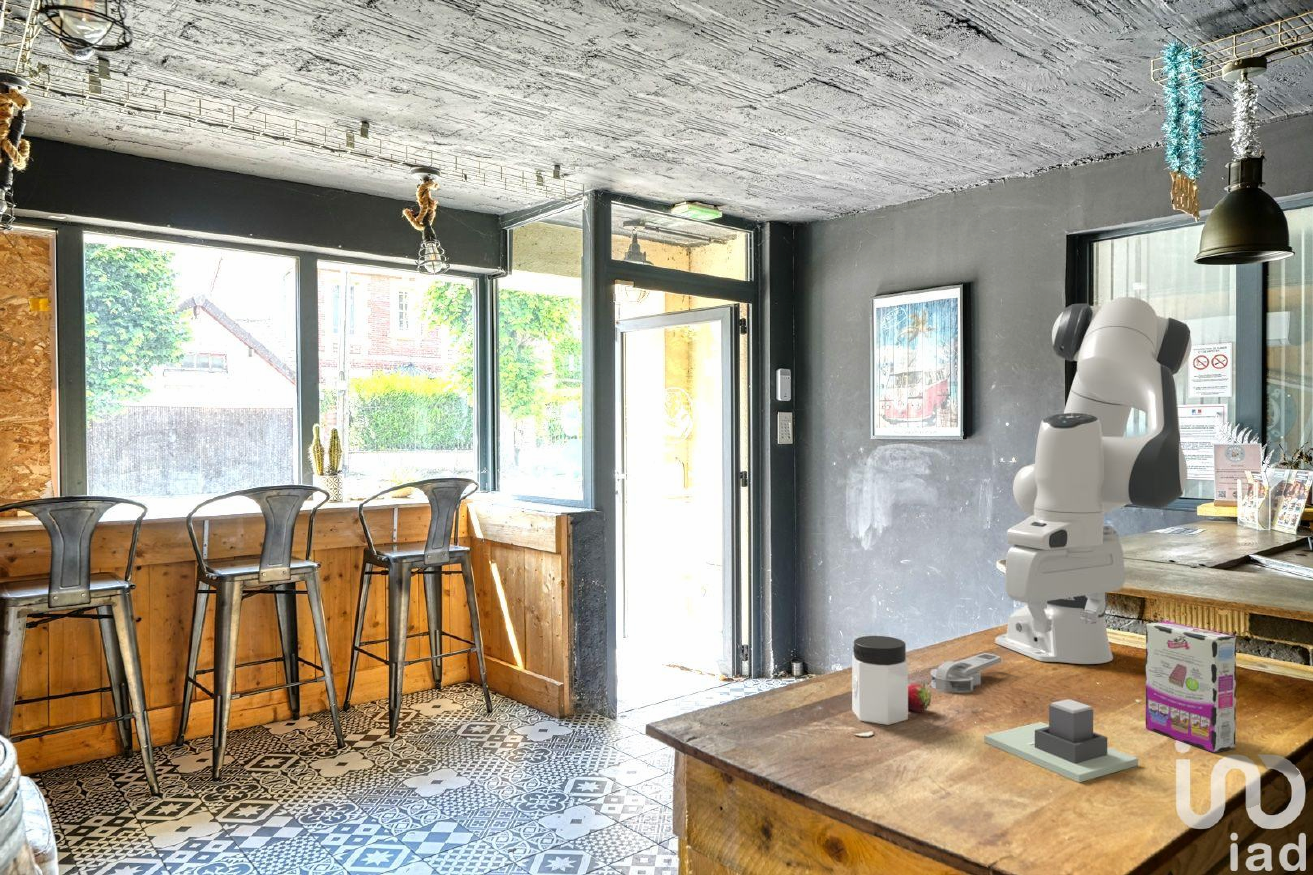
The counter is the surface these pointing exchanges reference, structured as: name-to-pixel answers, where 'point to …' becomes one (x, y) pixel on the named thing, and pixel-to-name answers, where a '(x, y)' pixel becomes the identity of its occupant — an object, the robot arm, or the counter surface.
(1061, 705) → the plug
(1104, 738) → the header board
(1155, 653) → the candy bar box
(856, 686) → the jar
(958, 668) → the zipper pull
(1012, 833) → the counter surface
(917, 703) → the fruit
